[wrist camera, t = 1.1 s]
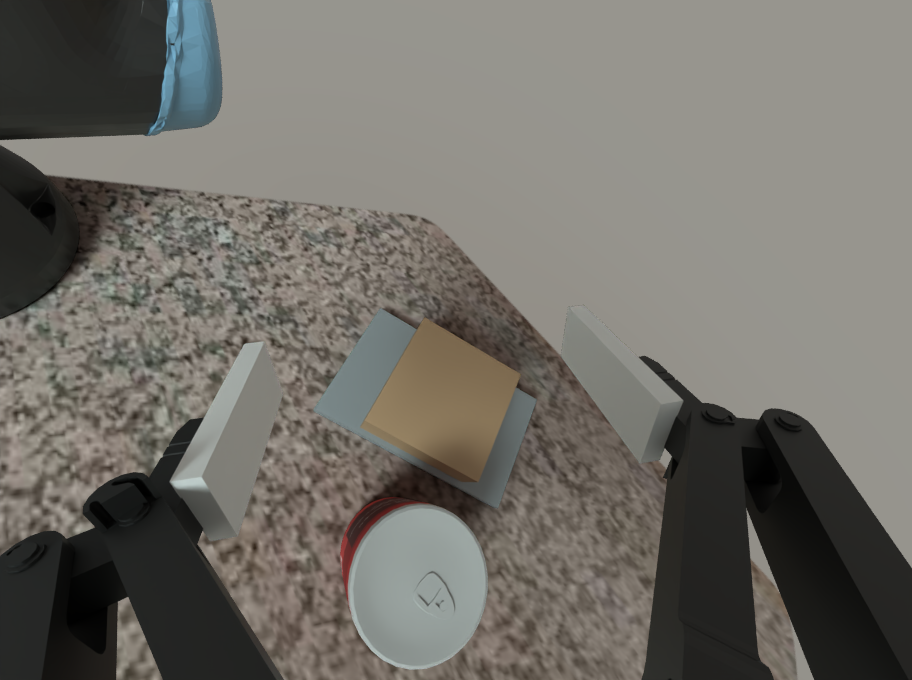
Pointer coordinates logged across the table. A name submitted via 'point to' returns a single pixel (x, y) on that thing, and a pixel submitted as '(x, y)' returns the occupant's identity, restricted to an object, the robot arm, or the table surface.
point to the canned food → (413, 581)
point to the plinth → (371, 380)
